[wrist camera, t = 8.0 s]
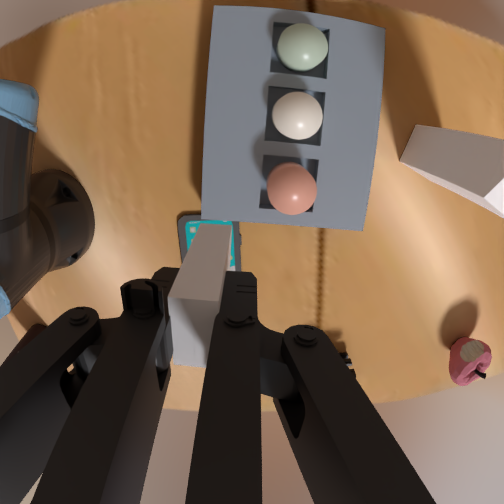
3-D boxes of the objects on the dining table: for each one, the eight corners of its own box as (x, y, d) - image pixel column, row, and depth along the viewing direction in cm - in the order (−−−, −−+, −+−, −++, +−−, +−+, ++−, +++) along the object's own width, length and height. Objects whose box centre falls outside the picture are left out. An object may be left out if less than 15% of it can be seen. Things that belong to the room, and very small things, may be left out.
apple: (477, 320, 50) (502, 351, 41) (474, 349, 53) (496, 380, 44) (438, 339, 52) (460, 374, 42) (437, 367, 55) (456, 401, 46)
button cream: (269, 135, 36) (271, 137, 32) (272, 92, 34) (275, 89, 30) (313, 139, 36) (320, 142, 32) (317, 97, 34) (324, 95, 30)
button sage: (274, 69, 33) (277, 64, 29) (277, 29, 30) (280, 20, 27) (319, 74, 33) (326, 70, 29) (321, 35, 31) (329, 27, 27)
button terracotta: (264, 203, 38) (265, 213, 34) (268, 159, 36) (269, 164, 32) (307, 206, 38) (313, 216, 34) (313, 163, 36) (319, 169, 32)
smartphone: (187, 311, 48) (175, 216, 42) (188, 308, 49) (176, 214, 43) (244, 311, 48) (240, 214, 42) (244, 307, 49) (240, 211, 43)
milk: (415, 123, 37) (530, 143, 17) (446, 145, 38) (560, 180, 17) (398, 162, 39) (505, 208, 19) (429, 181, 40) (536, 238, 20)
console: (205, 209, 42) (201, 219, 38) (217, 15, 31) (214, 5, 28) (353, 220, 42) (362, 231, 39) (373, 34, 32) (385, 28, 28)
